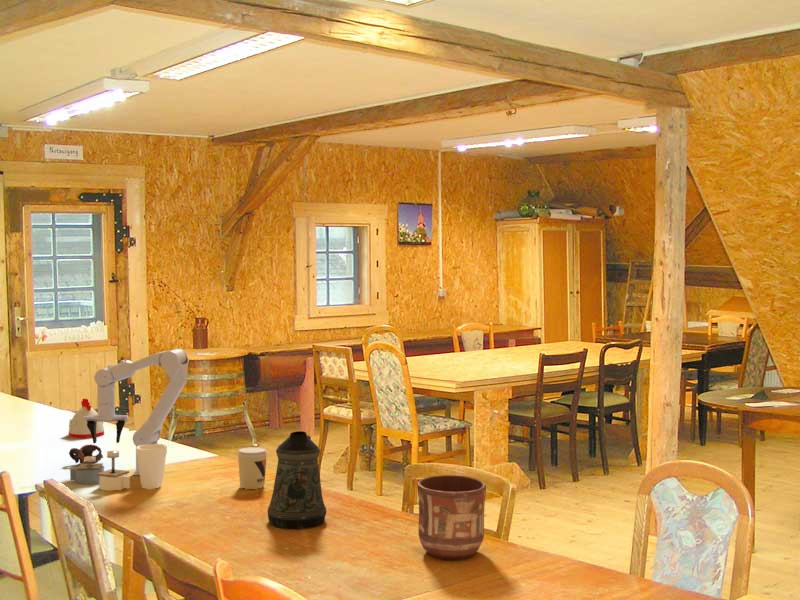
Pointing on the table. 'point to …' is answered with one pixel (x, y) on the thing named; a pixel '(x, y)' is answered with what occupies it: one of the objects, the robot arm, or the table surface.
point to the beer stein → (297, 485)
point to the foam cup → (151, 464)
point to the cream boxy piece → (114, 480)
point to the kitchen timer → (79, 426)
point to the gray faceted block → (86, 473)
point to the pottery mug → (85, 453)
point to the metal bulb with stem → (89, 460)
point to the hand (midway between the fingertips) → (106, 442)
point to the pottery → (451, 515)
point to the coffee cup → (252, 467)
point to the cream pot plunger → (113, 458)
